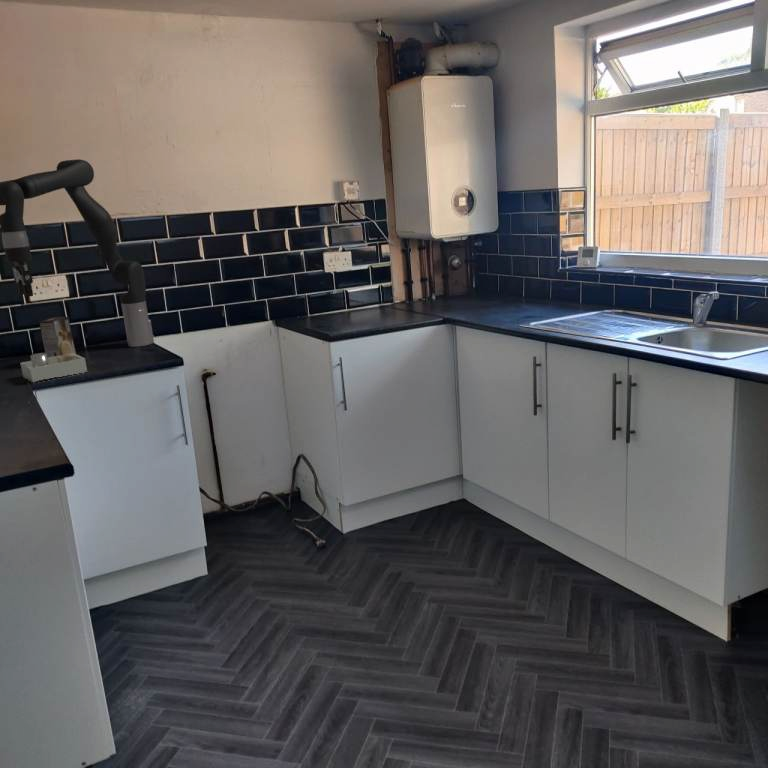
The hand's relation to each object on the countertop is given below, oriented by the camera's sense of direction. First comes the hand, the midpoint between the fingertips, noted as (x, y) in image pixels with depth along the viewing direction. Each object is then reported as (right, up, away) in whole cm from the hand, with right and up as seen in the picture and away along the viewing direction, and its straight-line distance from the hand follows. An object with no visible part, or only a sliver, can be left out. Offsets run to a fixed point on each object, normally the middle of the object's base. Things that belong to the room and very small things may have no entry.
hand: (26, 295), depth 240 cm
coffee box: (-2, -21, +31) cm, 37 cm away
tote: (+5, -26, +10) cm, 28 cm away
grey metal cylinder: (+2, -26, +7) cm, 27 cm away
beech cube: (+9, -24, +12) cm, 29 cm away
